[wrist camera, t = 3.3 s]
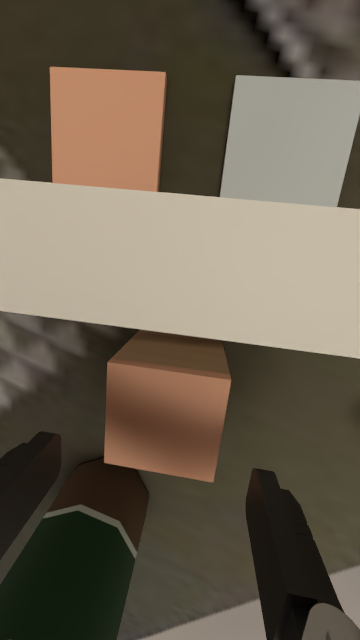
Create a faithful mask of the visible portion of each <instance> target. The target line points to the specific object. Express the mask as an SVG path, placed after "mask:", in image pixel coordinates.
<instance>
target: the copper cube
mask: <svg viewBox="0 0 360 640" xmlns="http://www.w3.org/2000/svg"><path fill="white" fill-rule="evenodd" d="M230 385H231V377H230V373H229V368H228V364H227V360H226V355H225V351H224V347H223V343H222V340H217V339H209V338H202V337H194V336H187V335H179V334H172V333H164V332H156V331H149V330H141V329H140V330H139V331H138V332H137V333H136V334H135V335H134V336H133V337H132V338H131V339H130V340H129V341H128V342H127V343H126V344H125V345H124V346H123V347H122V348H121V349H120V350H119V351H118V352H117V353H116V354H115V355H114V356H113V357H112V358H111V359H110V360H109V361H108V362H107V391H106V420H105V449H104V463H107V464H113V465H119V466H124V467H130V468H135V469H141V470H146V471H152V472H157V473H163V474H169V475H174V476H180V477H185V478H191V479H196V480H202V481H208V482H213V481H214V476H215V470H216V464H217V458H218V453H219V447H220V441H221V436H222V430H223V424H224V419H225V413H226V407H227V402H228V396H229V390H230Z"/></svg>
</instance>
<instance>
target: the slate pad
mask: <svg viewBox="0 0 360 640" xmlns="http://www.w3.org/2000/svg"><path fill="white" fill-rule="evenodd" d="M359 115H360V81H352V80H330V79H308V78H286V77H264V76H242V75H236V79H235V86H234V93H233V101H232V108H231V116H230V123H229V131H228V138H227V146H226V153H225V161H224V168H223V176H222V183H221V191H220V197H222V198H234V199H246V200H257V201H269V202H281V203H292V204H304V205H316V206H327V207H337V204H338V200H339V196H340V192H341V188H342V184H343V180H344V176H345V172H346V168H347V163H348V159H349V155H350V151H351V147H352V143H353V139H354V135H355V131H356V127H357V123H358V119H359Z"/></svg>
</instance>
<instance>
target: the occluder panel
mask: <svg viewBox="0 0 360 640" xmlns="http://www.w3.org/2000/svg"><path fill="white" fill-rule="evenodd" d="M0 311H5V312H13V313H21V314H28V315H36V316H43V317H51V318H58V319H66V320H73V321H81V322H88V323H96V324H104V325H111V326H119V327H126V328H134V329H141V330H149V331H156V332H164V333H172V334H179V335H187V336H194V337H202V338H209V339H217V340H224V341H232V342H239V343H247V344H255V345H262V346H270V347H277V348H285V349H292V350H300V351H307V352H315V353H323V354H330V355H338V356H345V357H353V358H360V209H351V208H339V207H327V206H316V205H304V204H292V203H281V202H269V201H257V200H246V199H234V198H222V197H211V196H199V195H187V194H176V193H164V192H152V191H141V190H129V189H117V188H106V187H94V186H82V185H71V184H59V183H47V182H36V181H24V180H12V179H1V178H0Z"/></svg>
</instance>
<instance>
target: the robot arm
mask: <svg viewBox="0 0 360 640" xmlns="http://www.w3.org/2000/svg"><path fill="white" fill-rule="evenodd" d="M60 468H61V437H60V435H59V434H54V433H48V432H39V433H38V434H36V435H35V436H34V437H33V438H32V439H31V440H30V441H29V442H28V443H22V444H20V445H19V446H17V447H15V448H14V449H12V450H10V451H9V452H7V453H6V454H5V455H4V456H3V457H2V458H1V459H0V560H1V558H2V557H3V555H4V554H5V552H6V551H7V550H8V548H9V547H10V545H11V544H12V542H13V541H14V540H15V538H16V537H17V535H18V534H19V532H20V531H21V529H22V528H23V527H24V525H25V524H26V522H27V521H28V519H29V518H30V517H31V515H32V514H33V512H34V511H35V509H36V508H37V506H38V505H39V504H40V502H41V501H42V499H43V498H44V496H45V495H46V494H47V492H48V491H49V489H50V488H51V486H52V485H53V483H54V482H55V480H56V479H57V477H58V474H59V471H60ZM246 519H247V525H248V531H249V537H250V543H251V549H252V555H253V561H254V566H255V572H256V578H257V584H258V590H259V596H260V602H261V608H262V614H263V620H264V626H265V632H266V638H267V640H360V629H359V628H358V627H357V626H356V625H355V623H354V622H353V621H352V620H351V619H350V618H349V617H348V616H347V615H345V613H344V611H343V609H342V607H341V605H340V603H339V600H338V598H337V595H336V593H335V590H334V588H333V585H332V583H331V581H330V578H329V576H328V573H327V571H326V568H325V566H324V563H323V561H322V558H321V556H320V553H319V551H318V548H317V546H316V543H315V541H314V540H313V536H312V533H311V531H310V528H309V526H308V525H307V521H306V518H305V516H304V514H303V511H302V509H301V506H300V504H299V503H298V502H297V500H296V499H295V498H294V496H293V495H292V494H291V492H290V491H289V490H284V489H280V486H279V484H278V481H277V478H276V475H275V473H274V472H273V471H267V470H262V469H256V468H254V469H253V470H252V474H251V479H250V483H249V488H248V492H247V497H246Z"/></svg>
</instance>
